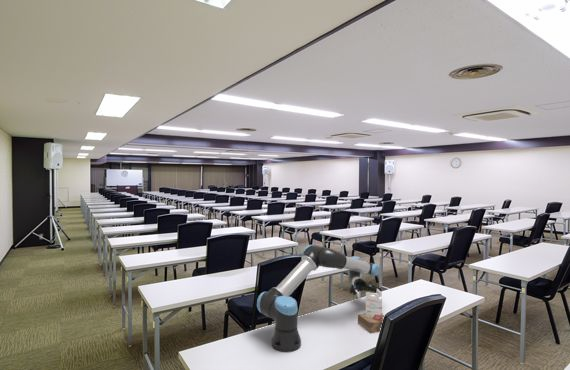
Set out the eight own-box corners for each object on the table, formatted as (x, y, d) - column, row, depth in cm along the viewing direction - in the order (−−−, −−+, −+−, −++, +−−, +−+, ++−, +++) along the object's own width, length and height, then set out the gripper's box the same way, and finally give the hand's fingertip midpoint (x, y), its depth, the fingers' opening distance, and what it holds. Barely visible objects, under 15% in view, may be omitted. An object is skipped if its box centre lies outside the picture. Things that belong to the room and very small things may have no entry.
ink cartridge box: (382, 317, 185) (382, 291, 185) (380, 320, 181) (380, 294, 181) (368, 313, 190) (367, 289, 190) (365, 317, 186) (365, 291, 186)
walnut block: (370, 334, 178) (370, 323, 178) (357, 324, 190) (357, 314, 190) (390, 330, 182) (390, 319, 182) (376, 320, 194) (376, 311, 194)
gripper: (377, 288, 215) (390, 300, 194) (340, 290, 213) (349, 302, 192) (377, 277, 215) (390, 288, 193) (340, 278, 213) (349, 289, 192)
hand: (370, 295), depth 193 cm, fingers open, 13 cm apart
